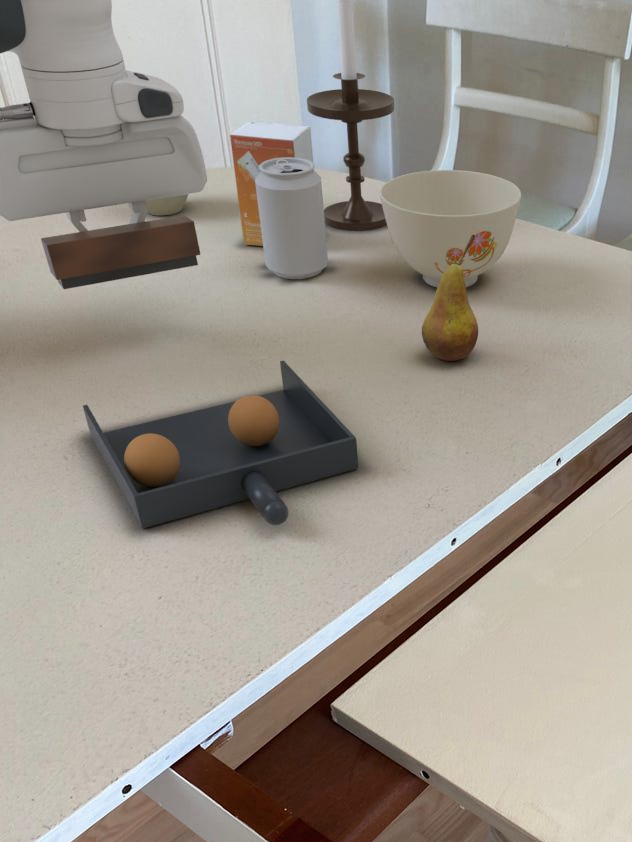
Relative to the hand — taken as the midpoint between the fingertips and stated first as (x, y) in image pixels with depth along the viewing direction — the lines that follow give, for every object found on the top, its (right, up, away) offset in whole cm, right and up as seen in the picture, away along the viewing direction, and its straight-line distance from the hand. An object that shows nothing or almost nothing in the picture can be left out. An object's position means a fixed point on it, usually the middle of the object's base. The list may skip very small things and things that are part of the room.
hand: (116, 249), depth 99 cm
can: (+15, +5, +19) cm, 25 cm away
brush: (+1, -2, 0) cm, 2 cm away
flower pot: (-6, +19, +34) cm, 39 cm away
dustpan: (+16, -25, -15) cm, 33 cm away
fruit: (+34, -10, +3) cm, 35 cm away
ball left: (+10, -25, -18) cm, 32 cm away
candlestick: (+20, +17, +33) cm, 42 cm away
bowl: (+33, +3, +18) cm, 38 cm away
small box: (+12, +12, +26) cm, 31 cm away
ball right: (+17, -20, -13) cm, 29 cm away
